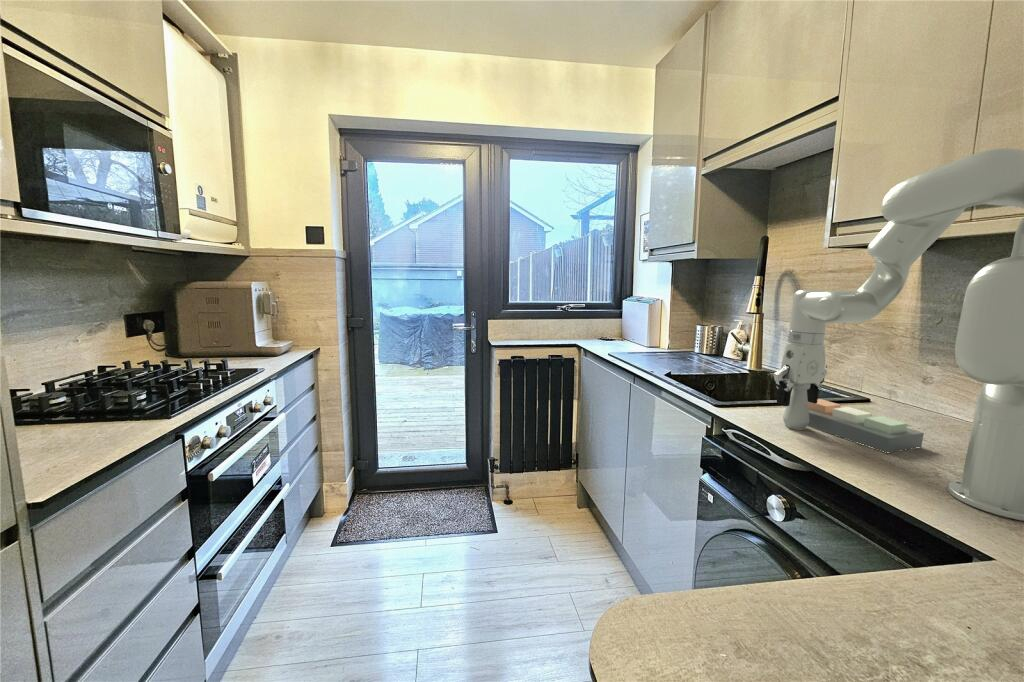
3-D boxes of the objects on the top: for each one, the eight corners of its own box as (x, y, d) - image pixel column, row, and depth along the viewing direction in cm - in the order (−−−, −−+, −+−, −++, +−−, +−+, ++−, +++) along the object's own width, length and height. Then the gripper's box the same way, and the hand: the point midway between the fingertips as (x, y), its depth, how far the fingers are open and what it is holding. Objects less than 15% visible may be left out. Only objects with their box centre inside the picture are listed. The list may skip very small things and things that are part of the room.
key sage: (905, 438, 100) (907, 423, 99) (888, 440, 98) (891, 425, 98) (878, 429, 105) (880, 415, 105) (862, 432, 104) (864, 417, 103)
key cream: (869, 427, 107) (871, 413, 106) (854, 429, 105) (856, 415, 105) (846, 420, 112) (848, 406, 112) (831, 422, 111) (833, 408, 110)
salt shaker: (807, 433, 108) (814, 383, 106) (780, 427, 111) (786, 379, 109) (808, 426, 113) (815, 378, 111) (783, 422, 116) (788, 375, 114)
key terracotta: (839, 417, 114) (840, 404, 114) (823, 419, 112) (825, 406, 112) (818, 411, 119) (820, 398, 119) (803, 413, 118) (805, 400, 117)
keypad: (921, 447, 100) (923, 433, 99) (886, 453, 96) (889, 438, 95) (819, 415, 122) (821, 403, 122) (788, 418, 118) (790, 406, 118)
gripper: (794, 342, 102) (785, 410, 105) (845, 340, 108) (835, 405, 110) (766, 337, 109) (758, 401, 112) (816, 335, 115) (807, 396, 117)
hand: (796, 403), depth 111 cm, fingers open, 9 cm apart
